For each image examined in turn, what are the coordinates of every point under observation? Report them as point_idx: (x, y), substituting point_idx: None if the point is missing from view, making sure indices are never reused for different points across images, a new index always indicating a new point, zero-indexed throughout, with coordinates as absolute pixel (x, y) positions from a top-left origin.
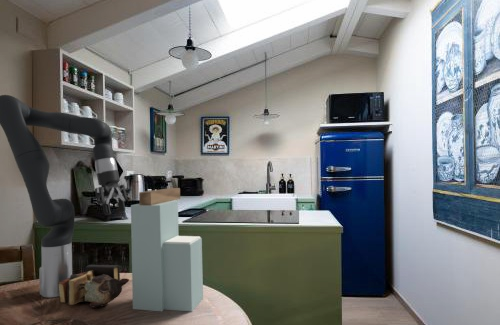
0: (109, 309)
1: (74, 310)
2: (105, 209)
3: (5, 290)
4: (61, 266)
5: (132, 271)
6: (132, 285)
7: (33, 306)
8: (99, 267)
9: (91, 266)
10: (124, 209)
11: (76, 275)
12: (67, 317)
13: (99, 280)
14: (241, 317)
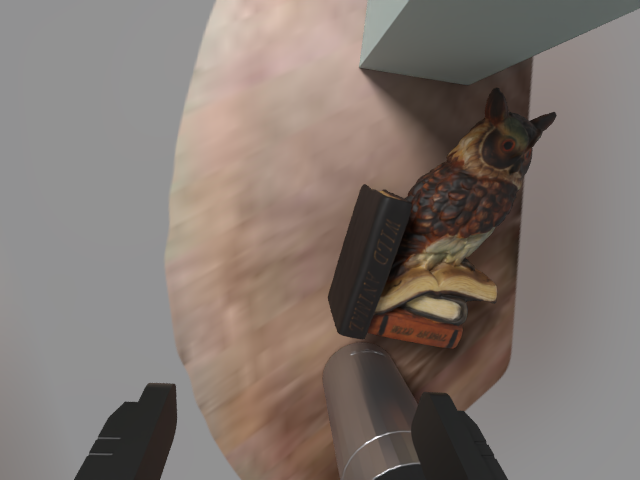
0: None
1: None
2: (490, 467)
3: None
4: (411, 403)
5: (552, 45)
6: (513, 64)
7: (443, 367)
8: (389, 272)
9: (372, 313)
10: (162, 391)
11: (465, 302)
12: (505, 239)
13: (517, 188)
14: None
